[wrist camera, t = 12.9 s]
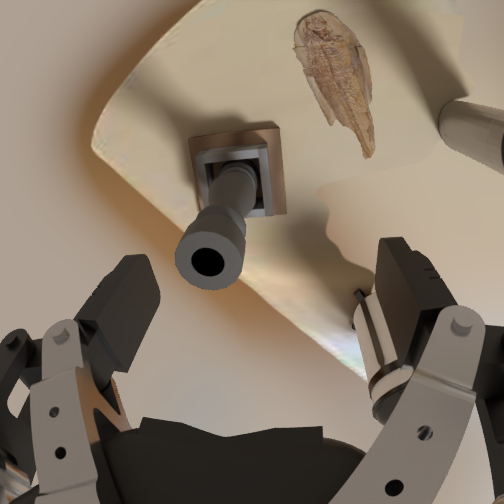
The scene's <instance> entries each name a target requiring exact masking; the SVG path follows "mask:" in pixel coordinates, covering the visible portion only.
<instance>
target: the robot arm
mask: <svg viewBox="0 0 504 504" xmlns="http://www.w3.org/2000/svg"><path fill="white" fill-rule="evenodd" d="M439 131H440V135H441V137H442V139H443V141H444V142H445V144H446V145H447V146H448V147H450V148H451V149H453V150H455V151H458V152H460V153H462V154H464V155H466V156H468V157H470V158H472V159H474V160H476V161H478V162H480V163H482V164H484V165H486V166H488V167H490V168H492V169H493V170H495V171H497V172H499V173H501V174H503V175H504V110H501V109H496V108H492V107H487V106H483V105H478V104H473V103H468V102H463V101H451V102H449V103H448V104H446V105H445V106H444V108H443V109H442V111H441V113H440V116H439ZM97 287H98V288H96V289H95V290H94V291H93V293H92V296H90V297H89V298H88V300H87V301H86V302H85V304H84V305H83V307H82V308H81V309H80V311H79V312H78V313H77V315H76V316H75V318H74V319H73V320H71V319H66V320H62V321H59V322H57V323H56V324H54V325H53V326H51V327H50V328H49V329H48V330H47V332H46V333H45V335H44V337H43V338H42V339H37V340H32V339H31V337H30V336H29V334H28V333H27V331H26V330H24V329H16V330H14V331H12V332H10V333H9V334H8V335H7V336H6V337H5V338H4V339H3V340H2V342H1V343H0V504H432V502H433V501H434V499H435V497H436V495H437V493H438V491H439V489H440V488H441V485H442V484H443V482H444V480H445V477H446V475H447V473H448V471H449V469H450V467H451V465H452V463H453V460H454V458H455V456H456V453H457V451H458V449H459V446H460V444H461V441H462V438H463V436H464V433H465V430H466V427H467V425H468V422H469V419H470V416H471V413H472V409H473V406H474V403H476V407H477V410H478V414H479V417H480V421H481V425H482V429H483V433H484V438H485V442H486V447H487V451H488V457H489V462H490V468H491V473H492V480H493V487H494V495H495V501H494V502H493V503H492V504H504V327H501V326H491V325H485V324H484V321H483V320H482V318H481V317H480V315H479V314H478V313H476V312H475V311H474V310H472V309H470V308H467V307H465V306H459V305H458V304H457V302H456V301H455V299H454V297H453V296H452V294H451V292H450V291H449V289H448V288H447V286H446V284H445V283H444V281H443V280H442V278H440V275H439V274H438V272H437V271H436V270H435V268H434V266H433V265H432V263H431V262H430V260H429V259H428V258H427V257H426V256H424V255H423V254H421V253H420V252H419V251H412V250H411V249H410V247H409V246H408V244H407V243H406V241H405V240H404V238H403V237H389V238H381V239H380V240H379V245H378V255H377V265H376V274H375V290H376V295H377V298H378V301H379V304H380V306H381V309H382V312H383V315H384V318H385V321H386V324H387V327H388V330H389V333H390V336H391V339H392V342H393V345H394V349H395V352H396V355H397V359H398V362H399V365H400V369H401V370H407V369H413V370H414V372H413V374H412V376H411V378H410V380H409V382H408V384H407V386H406V388H405V390H404V392H403V394H402V396H401V398H400V400H399V401H398V403H397V405H396V407H395V409H394V410H393V412H392V414H391V416H390V417H389V419H388V421H387V422H386V424H385V426H384V427H383V429H382V431H381V432H380V434H379V435H378V437H377V439H376V440H375V442H374V443H373V445H372V446H371V448H370V449H369V451H368V452H367V453H365V452H364V451H362V450H360V449H358V448H356V447H354V446H353V445H350V444H347V443H345V442H341V441H338V440H334V439H329V438H323V429H322V426H318V427H317V426H316V427H298V428H272V429H268V430H263V431H258V432H253V433H248V434H243V435H237V436H231V437H222V436H218V435H215V434H212V433H209V432H206V431H203V430H200V429H197V428H194V427H192V426H189V425H186V424H184V423H180V422H173V421H165V420H159V419H152V418H146V417H143V418H142V421H141V424H140V427H139V428H136V429H132V427H131V426H130V424H129V422H128V419H127V417H126V414H125V411H124V408H123V405H122V402H121V399H120V396H119V393H118V390H117V386H116V383H115V380H114V379H113V378H112V374H113V372H114V371H118V372H125V373H127V372H128V370H129V368H130V366H131V364H132V361H133V359H134V357H135V355H136V353H137V350H138V348H139V346H140V344H141V342H142V340H143V338H144V335H145V333H146V331H147V329H148V327H149V325H150V323H151V321H152V319H153V317H154V315H155V313H156V310H157V308H158V306H159V304H160V290H159V287H158V284H157V281H156V279H155V275H154V273H153V270H152V267H151V264H150V261H149V259H148V257H147V256H146V255H145V254H136V255H126V256H124V257H123V259H122V260H121V261H120V262H119V264H118V265H117V266H116V267H115V269H114V270H113V271H112V272H110V273H109V274H108V275H107V276H105V277H104V278H103V280H102V281H101V282H100V283H99V285H98V286H97ZM19 378H20V379H21V381H22V382H23V383H24V384H25V385H26V386H27V387H28V389H29V390H30V393H29V395H28V397H27V399H26V402H25V403H24V405H23V407H22V410H21V412H20V414H19V416H18V418H16V417H15V416H13V415H12V414H11V413H10V411H9V409H8V406H7V400H8V397H9V395H10V393H11V391H12V390H13V388H14V386H15V384H16V382H17V380H18V379H19ZM36 470H37V476H38V481H39V484H38V485H36V486H35V487H31V484H32V481H33V478H34V475H35V472H36Z"/></svg>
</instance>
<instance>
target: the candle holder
mask: <svg viewBox="0 0 504 504" xmlns="http://www.w3.org/2000/svg"><path fill="white" fill-rule="evenodd" d="M259 175H260V174H259V171H258V168H257V166H256V165H255V164H254V163H253V162H252V161H250V160H248V159H239V160H230V161H227V162H226V163H225V164H224V165H223V167H222V168H221V170H220V172H219V174H218V176H217V179H216V180H214V181H213V183H212V184H211V187H210V189H209V191H208V202H209V206H206V207H205V208H204V209H203V210H202V211H201V212H199V214H198V216H197V218H196V220H195V221H194V222H192V223H191V224H190V225H189V226H188V228H187V230H186V231H185V233H184V235H183V237H182V238H181V240H180V242H179V244H178V246H177V249H176V251H175V265H176V267H177V269H178V271H179V272H180V274H181V276H182V277H183V278H184V279H186V280H187V281H188V282H189V283H190V284H192V285H194V286H197V287H199V288H201V289H208V290H218V289H222V288H227V287H228V286H230V285H231V284H233V283H234V282H235V281H236V280H237V278H238V277H239V275H240V273H241V272H242V266H243V260H244V255H245V243H246V241H245V235H246V224H245V221H244V218H245V217H246V216H247V215H248V214H249V213H250V212H251V210H252V208H253V207H254V205H255V201H256V190H257V189H258V184H259Z"/></svg>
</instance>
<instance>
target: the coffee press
mask: <svg viewBox="0 0 504 504" xmlns="http://www.w3.org/2000/svg"><path fill="white" fill-rule="evenodd" d="M354 295H355V297H356V298H357V300H358V301H359V303H360V304H359V305H358V306H357V308H356V310H355V313H354V324H353V325H352V329H354V330H356V333H357V337H358V341H359V345H360V349H361V353H362V357H363V361H364V365H365V369H366V374H367V378H368V383H369V385H368V389H369V393H370V398H371V399H372V401H373V408H372V413H373V417H374V418H375V419H376V420H378V421H379V422H380V423H381V424H382V425H384V426H385V424H386V422H387V421H388V419H389V417H390V416H391V414H392V412H393V410H394V409H395V407H396V405H397V403H398V401H399V400H400V398H401V396H402V394H403V392H404V390H405V388H406V386H407V384H408V382H409V380H410V378H411V376H412V374H413V372H414V370H413V369H407V370H401V369H400V365H399V362H398V359H397V355H396V352H395V349H394V345H393V342H392V339H391V336H390V333H389V330H388V327H387V324H386V321H385V318H384V315H383V312H382V309H381V306H380V304H379V301H378V298H377V295H376V292H375V293H373V294H371V295H369V296H366V295H365V294H364V293H363V292H362V291H361V290H360V289H358V290H357V291H356V292H355V293H354Z"/></svg>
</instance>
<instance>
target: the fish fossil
mask: <svg viewBox="0 0 504 504" xmlns="http://www.w3.org/2000/svg"><path fill="white" fill-rule="evenodd" d="M294 42H295V44H294V46H295V48H292V49H293V50H294V51H295V53H296V58H297V59H298V60H300V62H301V63H302V65H303V68H305V69H303V71H304V74H305V76H306V78H307V81H308V83H309V85H310V87H311V89H312V91H313V93H314V96H315V97H316V99H317V101H318V103H319V105H320V108H321V109H322V111H323V113H324V116H325V117H326V119H327V122H328V124H329V125H330V126H332V125H333V123H334V120H335V119H337V120H338V121H339V122H340V123H341V124H342V125H343V126H346V127H349V128H350V129H351V130H352V131H354V133H355V134H356V136H357V138H358V140H359V142H360V143H361V147H362V151H363V156H364V158H365V159H367V158H371V156H372V155H373V153H374V151H375V139H374V126H373V122H372V117H371V113H370V110H369V107H368V103H370V102H371V101H372V95H371V92H372V82H371V76H370V70H369V65H368V62H367V57H366V54H365V50H364V48H363V47H362V46H361V45H360V44H359V41H358V40H357V39H356V36H355V34H354V33H353V32H352V31H351V30H350V29H349V28H348V27H347V26H346V25H345V24H343V23H342V22H341V21H340V20H339V19H338V17H336V16H334V14H333V13H329V12H327V11H320V12H317V13H313V14H312V15H310V16H308V17H306V18H304V19H303V20H302V21H301V22H300V23H299V25H298V26H297V27H296V30H295V33H294Z"/></svg>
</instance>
